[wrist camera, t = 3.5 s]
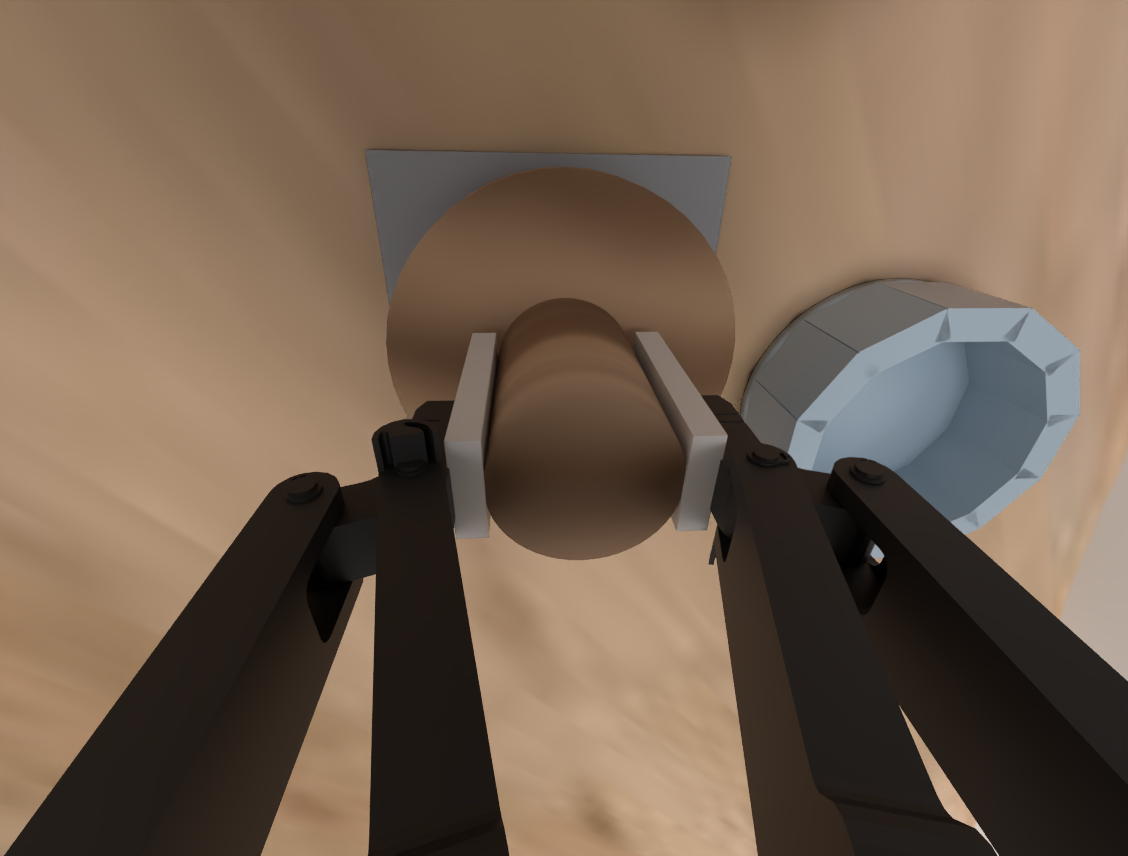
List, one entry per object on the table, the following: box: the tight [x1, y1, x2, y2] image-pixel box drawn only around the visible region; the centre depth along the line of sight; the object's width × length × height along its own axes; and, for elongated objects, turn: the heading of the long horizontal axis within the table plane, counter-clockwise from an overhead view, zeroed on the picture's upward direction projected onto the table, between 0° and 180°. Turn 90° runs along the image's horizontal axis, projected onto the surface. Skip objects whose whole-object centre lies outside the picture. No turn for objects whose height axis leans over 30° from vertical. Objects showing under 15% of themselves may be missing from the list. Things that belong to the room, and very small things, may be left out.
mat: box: [365, 150, 732, 419], centre depth 22 cm, size 14×14×1 cm
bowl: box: [740, 278, 1080, 558], centre depth 23 cm, size 12×12×5 cm
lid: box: [386, 166, 735, 560], centre depth 15 cm, size 12×12×8 cm
